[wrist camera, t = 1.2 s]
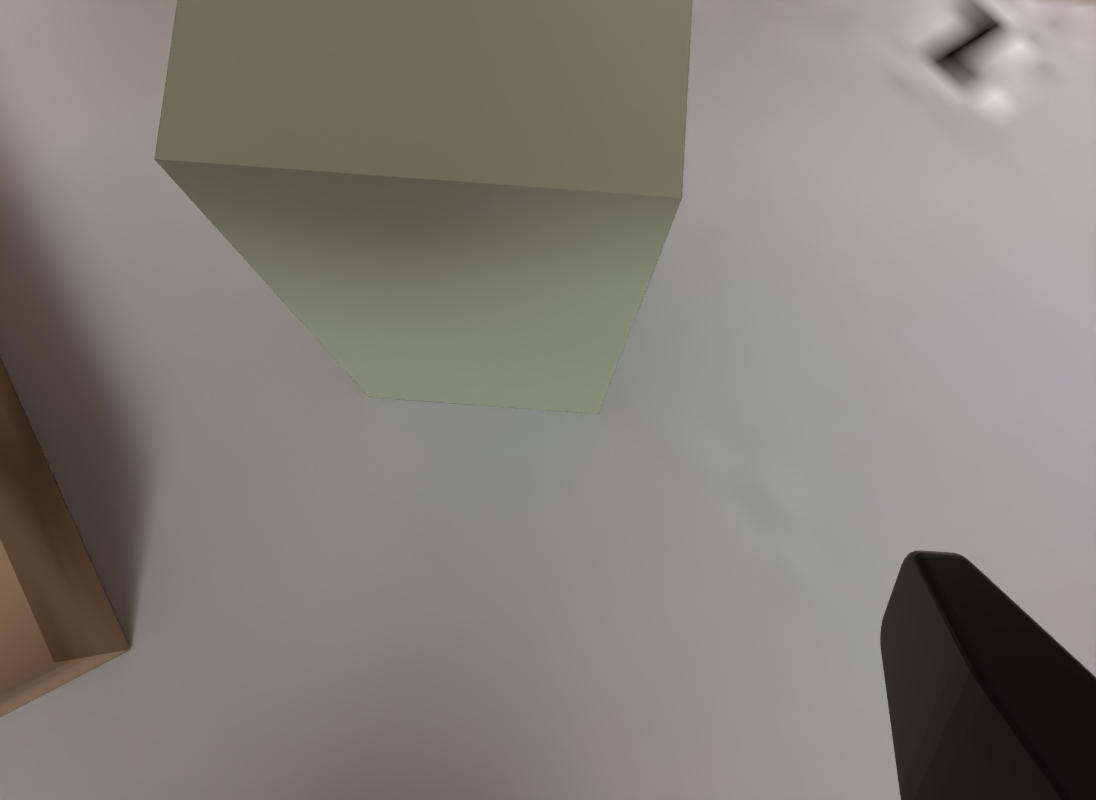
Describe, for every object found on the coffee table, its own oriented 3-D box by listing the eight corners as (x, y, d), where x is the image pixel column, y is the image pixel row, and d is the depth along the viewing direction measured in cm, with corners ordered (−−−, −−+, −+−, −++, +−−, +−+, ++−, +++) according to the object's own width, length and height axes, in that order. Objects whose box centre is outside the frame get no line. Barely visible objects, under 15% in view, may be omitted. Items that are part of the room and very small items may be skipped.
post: (598, 413, 23) (682, 198, 10) (368, 397, 23) (154, 158, 10) (612, 195, 24) (706, -264, 11) (391, 179, 24) (220, -301, 11)
